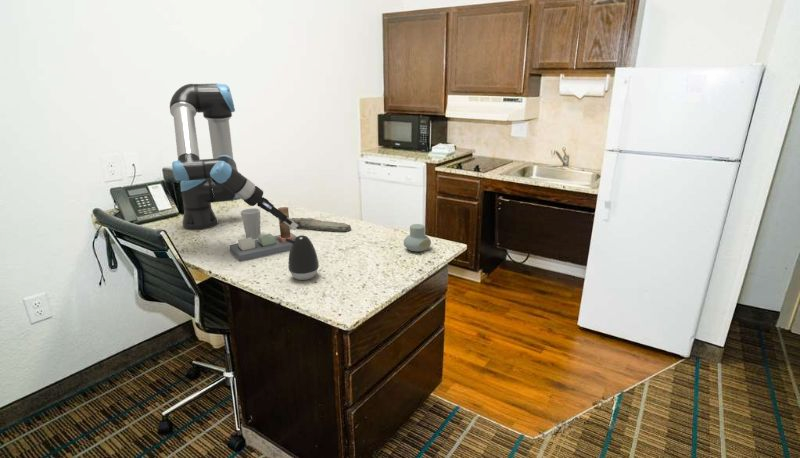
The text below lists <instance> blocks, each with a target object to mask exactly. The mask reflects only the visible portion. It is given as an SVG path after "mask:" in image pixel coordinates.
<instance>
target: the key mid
mask: <svg viewBox="0 0 800 458" xmlns="http://www.w3.org/2000/svg"><path fill="white" fill-rule="evenodd" d="M274 236H275V235H273V234H271V233H266V234H261V235H260V236H258V240H259V243H260V244H261V245H262V246H267V245H272V244H275V237H274Z"/></svg>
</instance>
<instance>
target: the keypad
mask: <svg viewBox="0 0 800 458" xmlns="http://www.w3.org/2000/svg"><path fill="white" fill-rule="evenodd" d="M290 234H291V235H292V236H293V237H294V239H295V238H296V237H298V236H297V235H295V234H294V233H292V232H290ZM279 235H280V234H278V235H273V236H274V237H275V244H272V245H267V246H262V245H261V244H260V243H259V240H258V239H254V241H255V248H253V249H248V250H243V251H242V250H241V249H240V248H239V245H238V242H237V243H232V244H229V245H228V246H229V252H230V253H231V254H232V255H233V256H234V257H235V258H236V259H237V260H238V261H239V262H246V261H250V260H254V259H259V258H263V257H268V256H272V255H276V254H280V253H281V254H282V253H286V252H290V249H291V246H292V244H291V243H289V242H283V243H281V242H280V241H279V240H278V236H279Z"/></svg>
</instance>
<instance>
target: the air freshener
mask: <svg viewBox="0 0 800 458" xmlns="http://www.w3.org/2000/svg"><path fill="white" fill-rule="evenodd" d="M425 232H426V227H425V225H424V224H421V223H413V224H411V225H410V227H409V235H407V236H406V237H404V240H403V245H404V247H405V249H407V250H409V251H411V252H415V253H416V252H417V253H422V252H424V251H426V250H427V249H429V248H430V247H431V244H432V241H431V239H430V238H429V237H428V236H427V235H426V234H425Z"/></svg>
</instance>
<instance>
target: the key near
mask: <svg viewBox="0 0 800 458" xmlns="http://www.w3.org/2000/svg"><path fill="white" fill-rule="evenodd" d="M254 240H255V239H254ZM254 240H253V239H252V238H251V237H250V238H246V237H245V238H240V239H237V243H238V245H239V248H240V249H241V250H242V251H243V250H248V249H253V248H255V241H254Z"/></svg>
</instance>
